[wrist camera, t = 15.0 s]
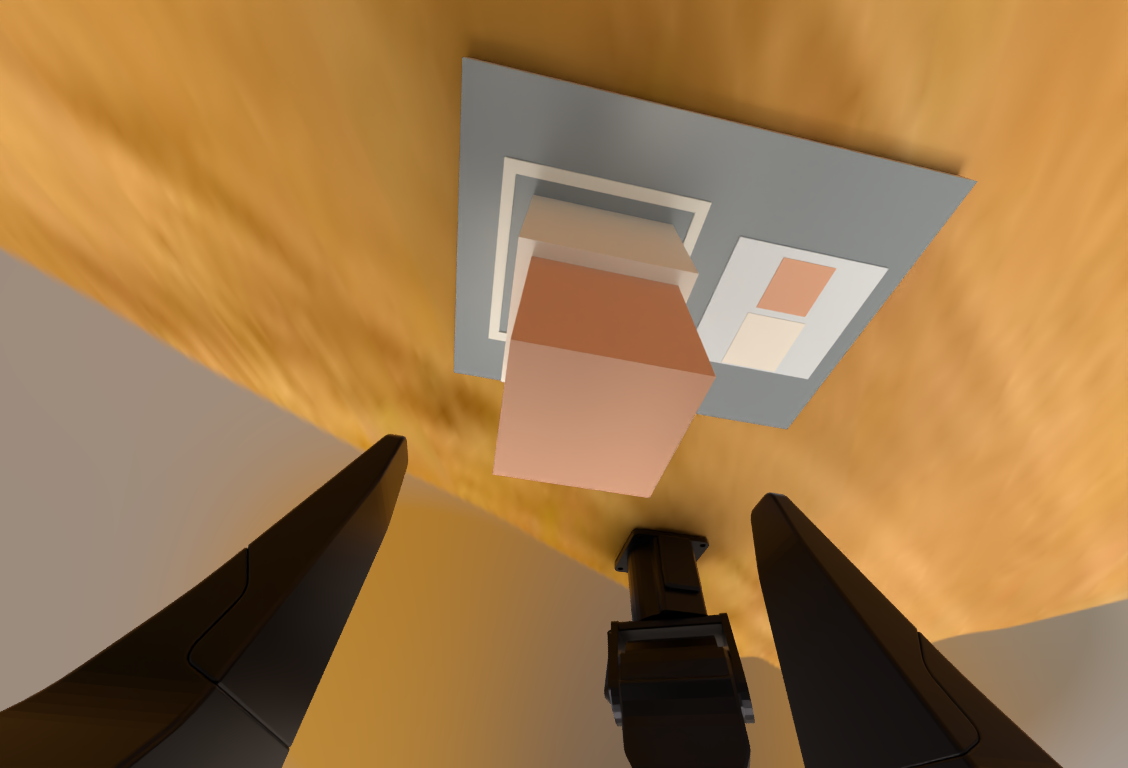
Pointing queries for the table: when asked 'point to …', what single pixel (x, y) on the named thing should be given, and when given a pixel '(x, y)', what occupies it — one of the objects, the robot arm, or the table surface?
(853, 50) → the table surface
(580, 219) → the cream block
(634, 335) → the terracotta block
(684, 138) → the building plate
